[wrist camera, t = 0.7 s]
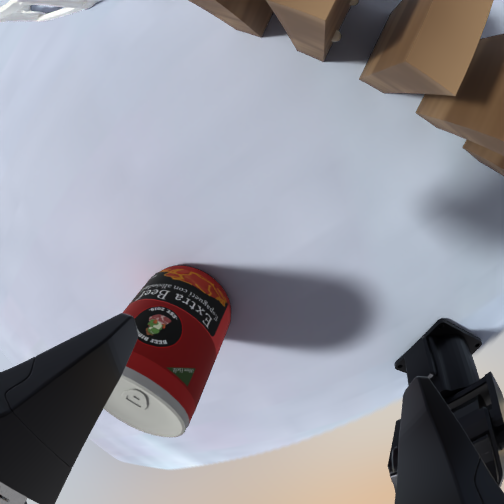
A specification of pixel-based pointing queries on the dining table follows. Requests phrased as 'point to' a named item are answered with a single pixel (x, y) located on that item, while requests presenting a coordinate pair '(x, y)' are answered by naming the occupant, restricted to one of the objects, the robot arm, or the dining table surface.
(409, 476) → the robot arm
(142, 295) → the canned food
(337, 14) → the tile
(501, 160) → the tile
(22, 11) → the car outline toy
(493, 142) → the tile
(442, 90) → the tile
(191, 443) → the dining table surface
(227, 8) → the tile
